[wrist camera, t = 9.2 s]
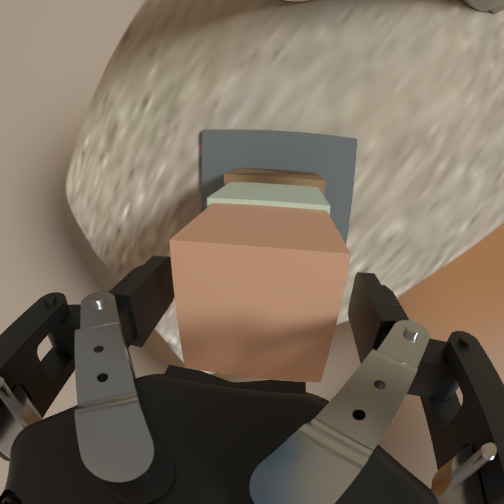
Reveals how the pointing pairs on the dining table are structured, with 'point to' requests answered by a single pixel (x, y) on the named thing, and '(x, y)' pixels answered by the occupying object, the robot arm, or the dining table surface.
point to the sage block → (270, 195)
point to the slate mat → (283, 162)
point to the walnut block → (275, 177)
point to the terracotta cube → (258, 290)
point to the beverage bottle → (296, 0)
